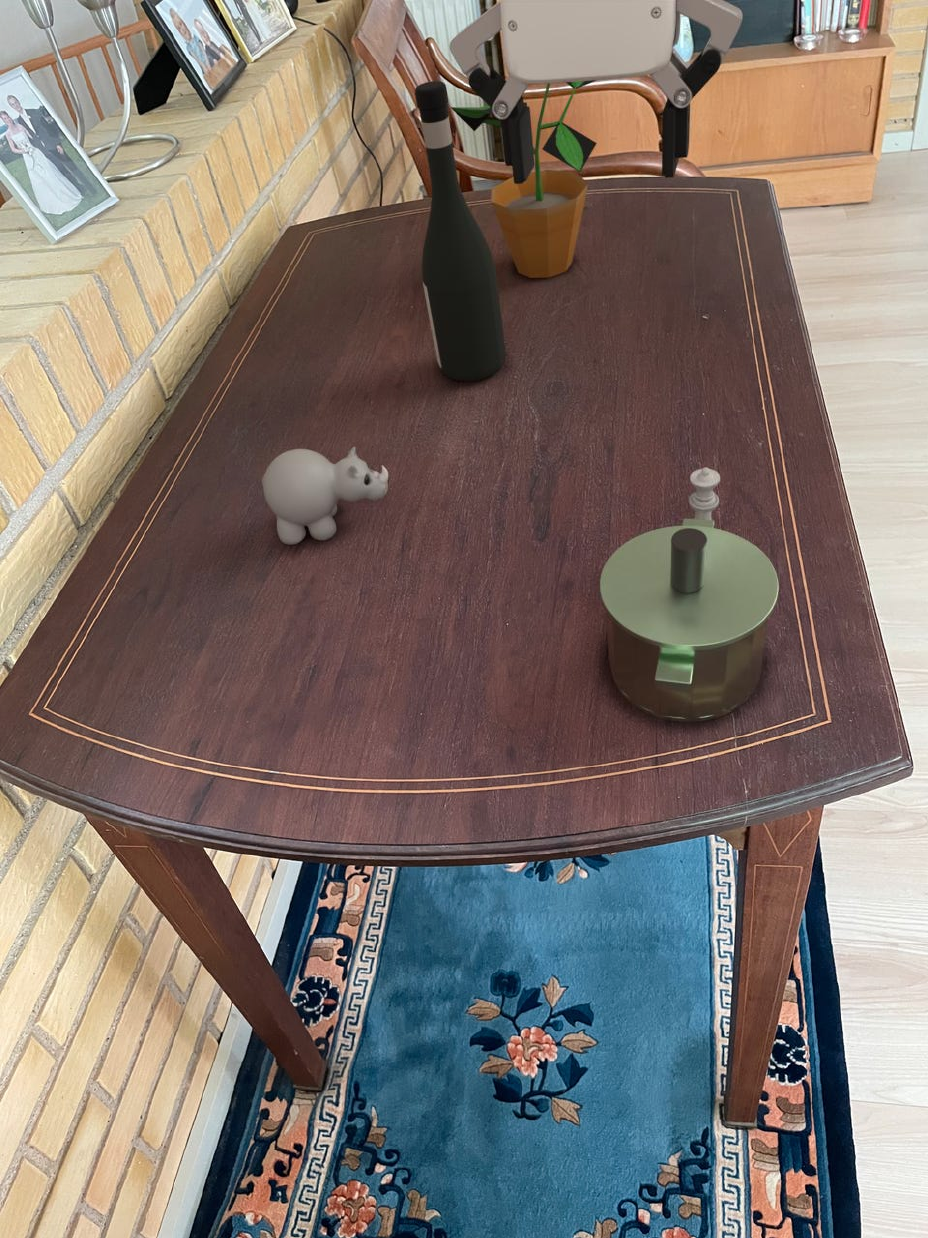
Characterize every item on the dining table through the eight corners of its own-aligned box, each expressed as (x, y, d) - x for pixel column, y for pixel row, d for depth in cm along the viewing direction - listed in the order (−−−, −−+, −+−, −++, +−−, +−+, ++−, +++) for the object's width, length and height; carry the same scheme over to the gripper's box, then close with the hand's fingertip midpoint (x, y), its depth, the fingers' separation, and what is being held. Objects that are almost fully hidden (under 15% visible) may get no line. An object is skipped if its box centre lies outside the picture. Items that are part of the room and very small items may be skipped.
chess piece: (720, 542, 81) (727, 448, 74) (732, 575, 78) (740, 481, 71) (670, 548, 81) (672, 455, 74) (679, 581, 78) (682, 488, 71)
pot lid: (781, 542, 68) (788, 487, 65) (772, 666, 60) (780, 612, 57) (615, 530, 72) (613, 478, 68) (586, 646, 64) (582, 594, 60)
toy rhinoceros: (398, 537, 88) (379, 465, 82) (275, 555, 88) (248, 485, 82) (397, 492, 93) (380, 420, 87) (282, 509, 94) (256, 440, 88)
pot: (766, 596, 76) (776, 516, 70) (753, 762, 65) (763, 684, 59) (627, 584, 79) (625, 507, 73) (592, 740, 68) (587, 664, 62)
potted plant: (641, 264, 120) (639, -6, 99) (515, 311, 116) (486, 40, 94) (571, 222, 132) (556, -26, 111) (454, 264, 128) (416, 14, 106)
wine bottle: (426, 377, 108) (371, 97, 86) (464, 344, 112) (421, 69, 91) (482, 391, 104) (439, 101, 83) (520, 356, 108) (488, 72, 87)
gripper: (759, -203, 48) (737, 144, 60) (446, -155, 53) (484, 156, 65) (749, -182, 43) (727, 191, 55) (405, -131, 48) (454, 201, 60)
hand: (595, 172), depth 60 cm, fingers open, 9 cm apart
